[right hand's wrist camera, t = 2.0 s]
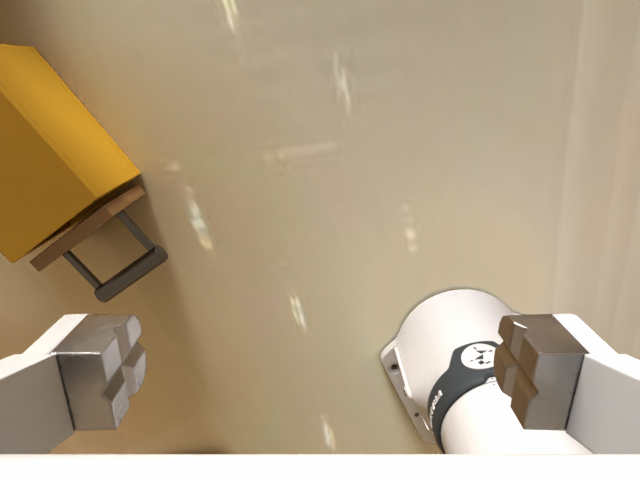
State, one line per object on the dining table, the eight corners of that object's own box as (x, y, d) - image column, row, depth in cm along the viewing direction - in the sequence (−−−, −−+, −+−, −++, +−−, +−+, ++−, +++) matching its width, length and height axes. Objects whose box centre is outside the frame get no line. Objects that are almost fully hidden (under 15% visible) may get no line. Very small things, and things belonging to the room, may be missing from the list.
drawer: (185, 238, 48) (161, 269, 41) (122, 283, 50) (88, 320, 43) (47, 78, 42) (-11, 79, 35) (-18, 135, 44) (-87, 148, 37)
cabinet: (141, 173, 47) (97, 198, 37) (70, 227, 49) (11, 263, 39) (34, 46, 42) (-46, 39, 33) (-40, 112, 44) (-134, 122, 35)
